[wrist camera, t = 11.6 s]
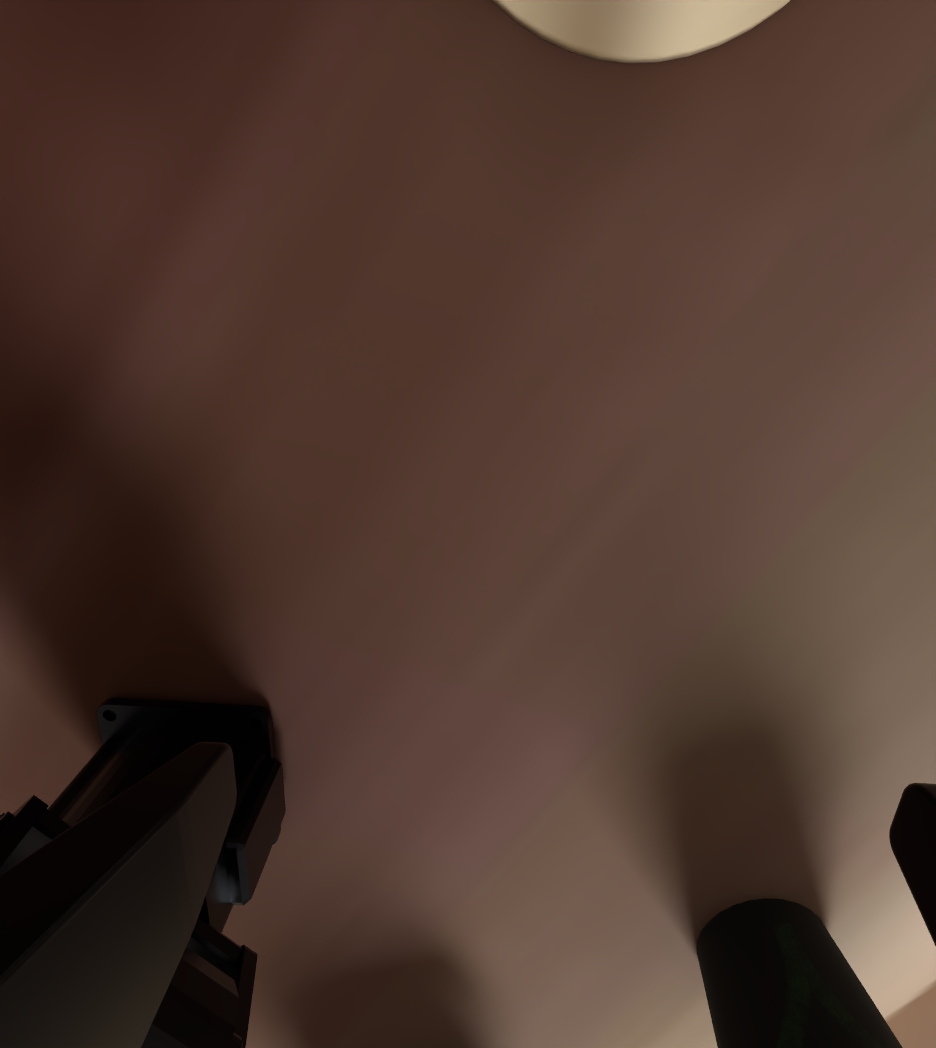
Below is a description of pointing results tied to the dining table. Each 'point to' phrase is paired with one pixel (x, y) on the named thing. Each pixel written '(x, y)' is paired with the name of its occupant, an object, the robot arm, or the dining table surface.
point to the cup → (784, 982)
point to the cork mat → (639, 25)
